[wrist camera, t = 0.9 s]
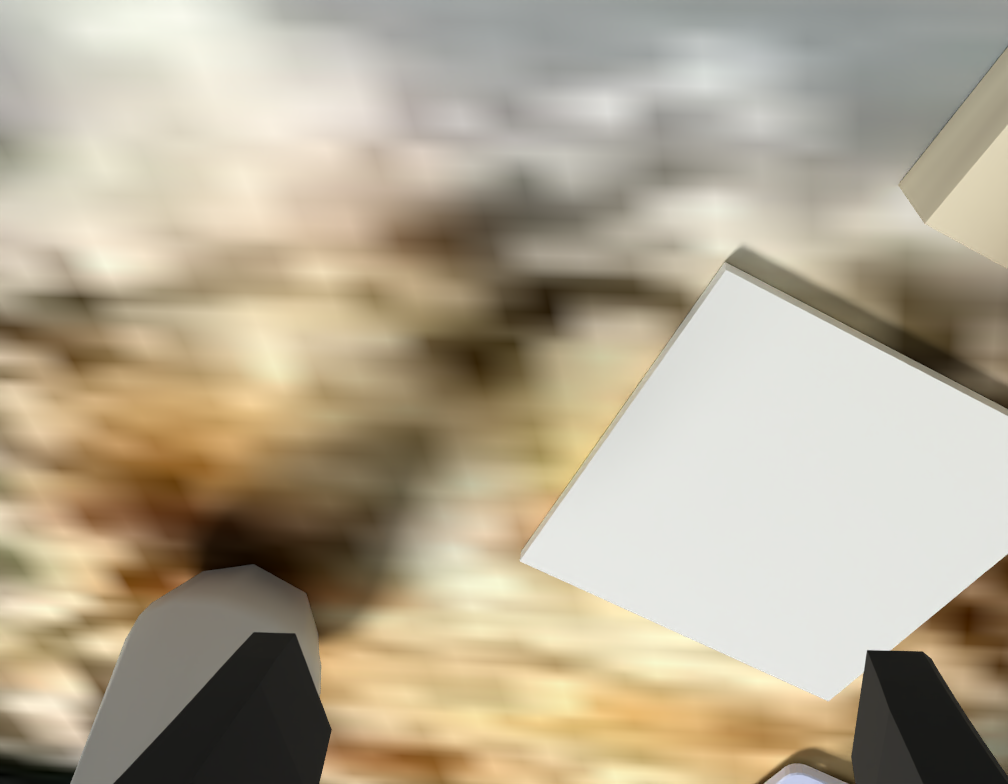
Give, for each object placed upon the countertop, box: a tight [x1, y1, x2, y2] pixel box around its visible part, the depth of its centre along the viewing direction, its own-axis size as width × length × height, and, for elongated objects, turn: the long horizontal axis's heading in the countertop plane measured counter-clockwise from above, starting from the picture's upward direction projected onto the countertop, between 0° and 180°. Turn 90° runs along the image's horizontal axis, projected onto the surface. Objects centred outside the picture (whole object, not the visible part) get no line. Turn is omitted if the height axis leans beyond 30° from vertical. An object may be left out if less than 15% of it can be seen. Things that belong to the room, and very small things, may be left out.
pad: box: [520, 262, 1008, 701], centre depth 21 cm, size 10×10×1 cm
